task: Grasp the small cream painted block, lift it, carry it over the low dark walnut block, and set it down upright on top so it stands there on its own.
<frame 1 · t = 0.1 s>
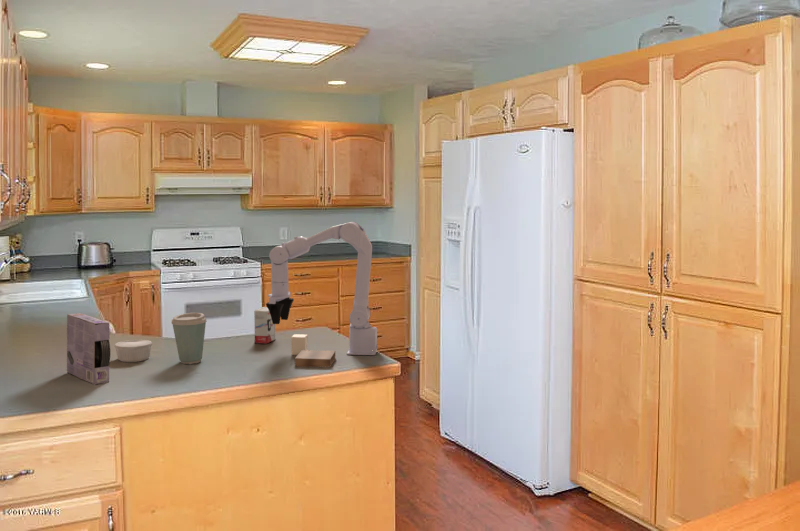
hand: (280, 321, 236), 10 cm above the table, tool pointing down, fingers open, 7 cm apart
ramekin: (134, 359, 224), on the table
walnut block: (315, 363, 222), on the table
cake pan box: (89, 378, 202), on the table
cream block: (299, 353, 234), on the table
disposable coffee cup: (189, 362, 221), on the table
ink box: (265, 341, 252), on the table
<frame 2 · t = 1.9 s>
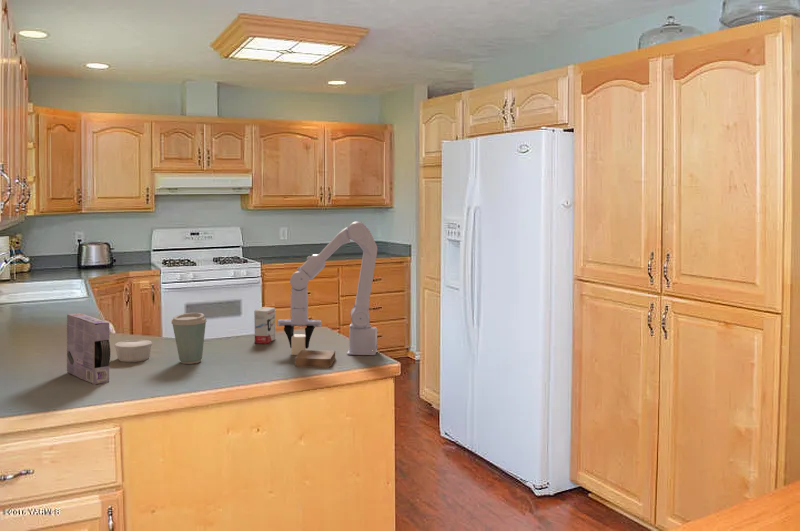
hand: (299, 347, 234), 2 cm above the table, tool pointing down, fingers closed on cream block, 4 cm apart
cream block: (299, 353, 234), on the table, touching gripper
everything else where it was.
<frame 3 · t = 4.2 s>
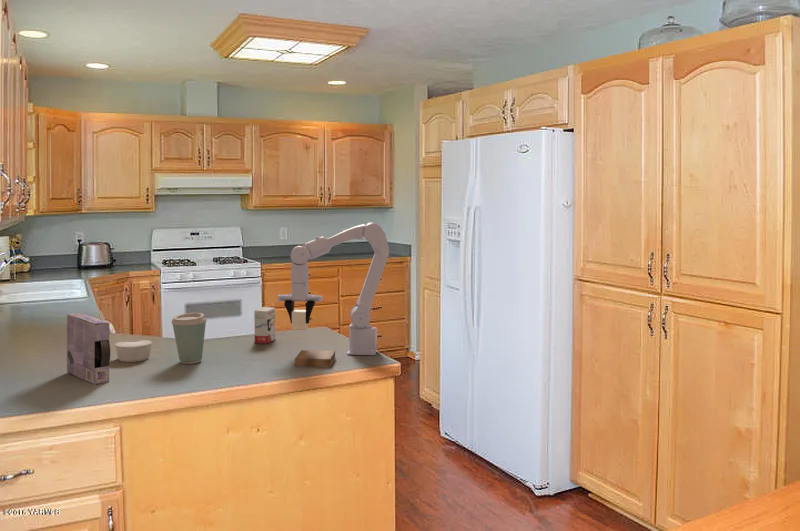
hand: (299, 322, 233), 10 cm above the table, tool pointing down, fingers closed on cream block, 4 cm apart
cream block: (299, 328, 233), point 8 cm above the table, touching gripper
everything else where it was.
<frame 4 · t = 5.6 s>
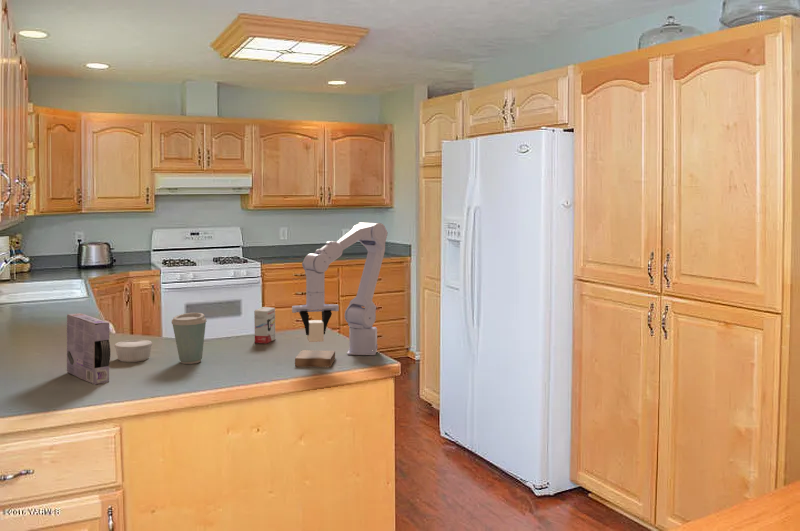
hand: (315, 334, 221), 9 cm above the table, tool pointing down, fingers closed on cream block, 4 cm apart
cream block: (315, 340, 222), point 7 cm above the table, touching gripper
everything else where it was.
when the fingers open (6 cm above the table, at t = 6.6 s): cream block drops 2 cm, resting on walnut block.
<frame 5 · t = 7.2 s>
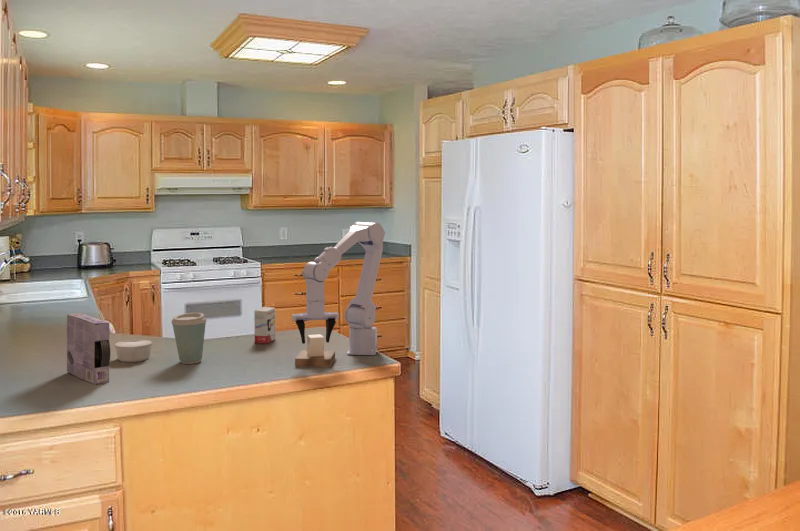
hand: (315, 342, 222), 6 cm above the table, tool pointing down, fingers open, 7 cm apart
walnut block: (315, 363, 222), on the table, touching cream block
cream block: (315, 354, 222), point 2 cm above the table, touching walnut block
everything else where it was.
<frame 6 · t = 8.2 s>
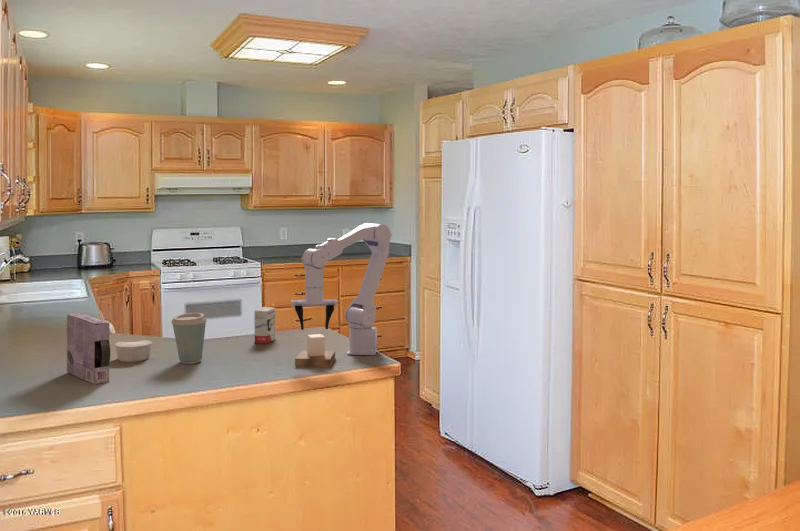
hand: (314, 328, 223), 10 cm above the table, tool pointing down, fingers open, 7 cm apart
walnut block: (315, 363, 222), on the table
cream block: (315, 354, 222), point 2 cm above the table
everything else where it was.
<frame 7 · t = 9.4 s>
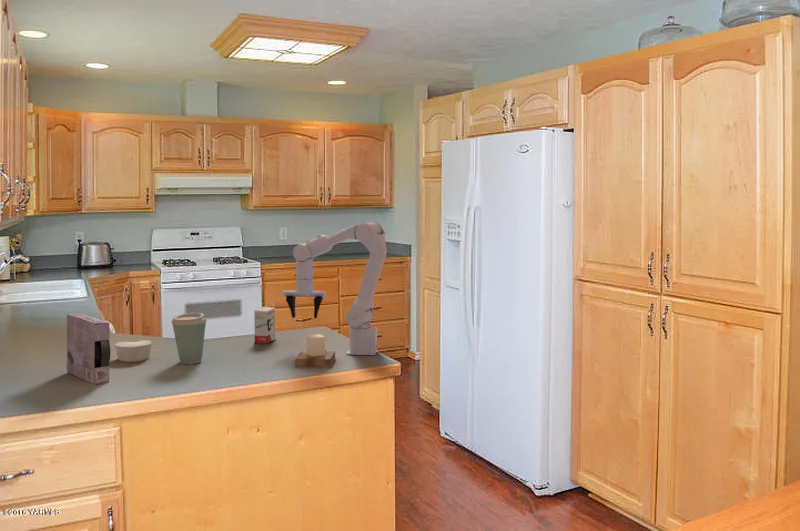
hand: (304, 317, 242), 10 cm above the table, tool pointing down, fingers open, 7 cm apart
nothing on the table moved.
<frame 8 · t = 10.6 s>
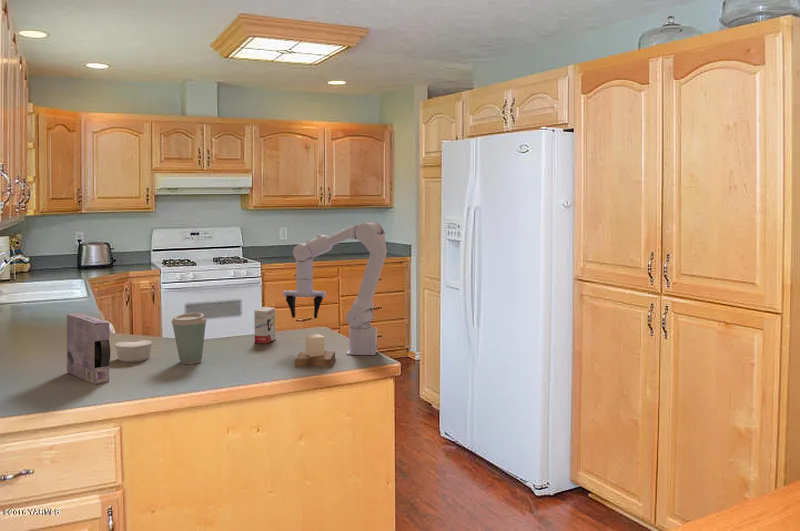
hand: (304, 317, 242), 10 cm above the table, tool pointing down, fingers open, 7 cm apart
nothing on the table moved.
at the end: cream block 0.3 cm off-centre on the walnut block, point 3.0 cm above the walnut block's base; cream block tilted 0°; the gripper is holding nothing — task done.
